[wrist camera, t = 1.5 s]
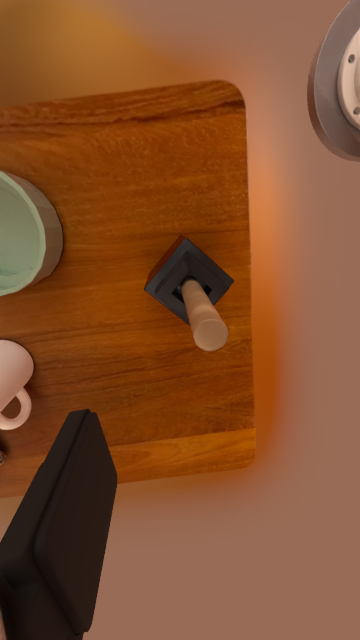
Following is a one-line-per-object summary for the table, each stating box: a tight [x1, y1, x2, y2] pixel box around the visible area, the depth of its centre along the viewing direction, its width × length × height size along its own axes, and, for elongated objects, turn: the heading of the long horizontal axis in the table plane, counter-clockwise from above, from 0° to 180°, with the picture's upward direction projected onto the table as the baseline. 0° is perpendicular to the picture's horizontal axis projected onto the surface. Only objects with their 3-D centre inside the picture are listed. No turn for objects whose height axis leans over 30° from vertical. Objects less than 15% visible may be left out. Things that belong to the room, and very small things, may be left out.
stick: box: [180, 276, 228, 351], centre depth 21 cm, size 2×2×14 cm
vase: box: [144, 235, 234, 326], centre depth 31 cm, size 7×7×13 cm
